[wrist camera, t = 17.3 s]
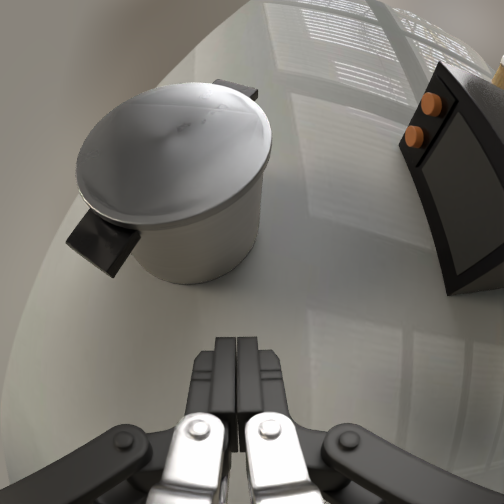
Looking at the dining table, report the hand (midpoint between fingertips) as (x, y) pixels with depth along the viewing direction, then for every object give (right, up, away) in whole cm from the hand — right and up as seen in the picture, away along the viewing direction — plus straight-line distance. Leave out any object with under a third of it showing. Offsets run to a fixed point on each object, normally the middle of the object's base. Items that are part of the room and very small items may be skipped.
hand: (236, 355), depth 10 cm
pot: (-4, +6, +11) cm, 13 cm away
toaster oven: (+21, +8, +12) cm, 25 cm away
